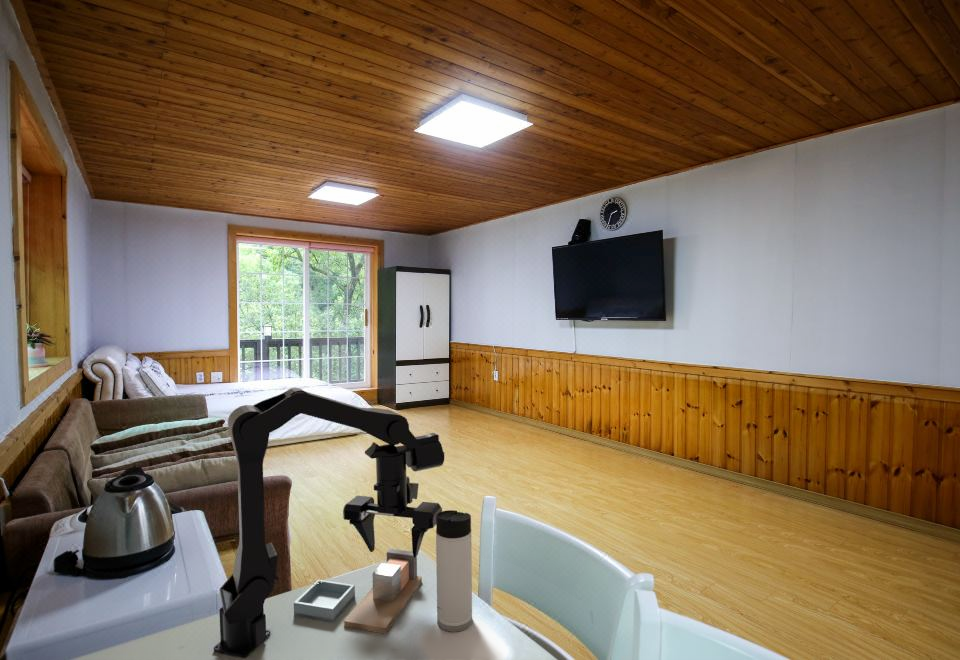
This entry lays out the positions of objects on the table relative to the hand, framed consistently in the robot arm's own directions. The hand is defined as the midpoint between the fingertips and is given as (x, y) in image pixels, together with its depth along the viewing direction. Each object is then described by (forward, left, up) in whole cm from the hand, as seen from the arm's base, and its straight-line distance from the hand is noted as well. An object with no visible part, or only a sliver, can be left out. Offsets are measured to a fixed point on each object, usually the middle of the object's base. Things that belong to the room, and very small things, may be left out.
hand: (393, 553), depth 100 cm
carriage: (0, -3, -7) cm, 7 cm away
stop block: (0, +1, -7) cm, 7 cm away
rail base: (0, -3, -8) cm, 9 cm away
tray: (-11, -7, -8) cm, 15 cm away
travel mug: (+14, -6, -8) cm, 17 cm away
